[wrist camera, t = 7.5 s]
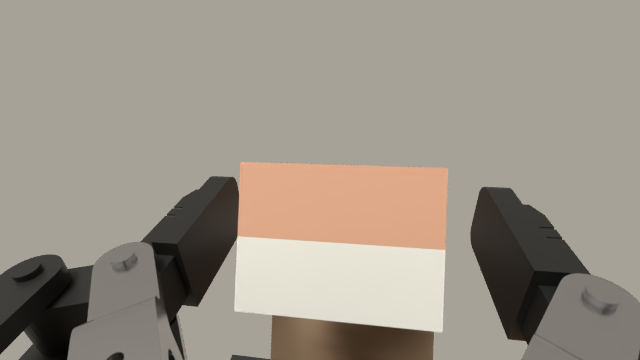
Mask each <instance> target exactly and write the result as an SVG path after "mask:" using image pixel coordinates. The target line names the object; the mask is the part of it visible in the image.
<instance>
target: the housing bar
mask: <svg viewBox="0 0 640 360" xmlns="http://www.w3.org/2000/svg"><path fill="white" fill-rule="evenodd" d="M240 166H241V167H240V188H239V212H238V236H237V260H236V285H235V309H234V310H235V311H239V312H248V313H258V314H268V315H278V316H287V317H297V318H307V319H317V320H326V321H336V322H346V323H355V324H365V325H375V326H385V327H394V328H404V329H414V330H424V331H433V332H442V331H443V330H442V329H443V302H444V274H445V272H444V271H445V245H446V244H445V243H446V216H447V187H448V168H427V167H426V168H425V167H394V166H393V167H392V166H359V165H327V164H294V163H292V164H291V163H261V162H241V165H240Z"/></svg>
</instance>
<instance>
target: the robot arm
mask: <svg viewBox="0 0 640 360" xmlns="http://www.w3.org/2000/svg"><path fill="white" fill-rule="evenodd" d="M238 212H239V191H238V186H237V182H236V180H235V178H233V177H218V176H212V177H210V178H209V179H208V180H207V181H206V182H205V184H204V185H203V186H202V187H201V188H200V189H199V190H195V191H193V192H191V193H190V194H188V195H186V196H185V197H183V198H182V199H181V200H180V201H179V202H178V203H177V204H176V206H174V209H172V210H171V211H170V212H169V213H168V214H167V216H165V217H164V218H163V219H162V220H161V221H160V222H159V223H158V224H157V225H156V226H155V227H154V228H153V230H151V232H150V233H149V234H148V235H147V236H146V237H145V238H144V239H143V240H142V241H141V242H132V243H127V244H123V245H121V246H118V247H116V248H113V249H112V250H110V251H108V252H107V253H105V254H104V255H103V256H101V257H100V258H99V259H98V260H97V261H96V263H95V264H94V265H91V266H86V267H79V268H73V269H67V267H66V265H65V263H64V262H63V260H62V259H61V257H59V256H57V255H42V256H37V257H34V258H30V259H28V260H25V261H23V262H21V263H19V264H17V265H15V266H13V267H12V268H10V269H8V270H7V271H5V272H4V273H3V274H1V275H0V354H1V353H2V352H3V351H4V350H5V349H6V348H7V347H8V346H9V345H10V344H11V343H12V342H13V341H14V340H15V339H16V338H17V337H18V336H19V335H20V334H21V333H22V332H23V331H24V332H25V333H26V335H27V336H28V337H29V339H30V340H31V341H32V343H33V345H32V346H31V347H30V348H29V349H28V350H27V351H26V352H25V353H24V354H23V356H22V357H21V358H20V359H19V360H187V355H186V350H185V346H184V340H183V335H182V329H181V325H180V319H179V316H178V314H177V313H178V311H179V309H180V308H181V306H182V305H187V306H196V307H198V305H199V303H200V302H201V300H202V298H203V296H204V295H205V293H206V291H207V289H208V287H209V286H210V284H211V282H212V281H213V279H214V277H215V275H216V274H217V272H218V270H219V268H220V267H221V265H222V263H223V261H224V260H225V258H226V256H227V254H228V253H229V251H230V249H231V247H232V246H233V244H234V242H235V240H236V238H237V236H238ZM471 245H472V248H473V251H474V253H475V256H476V258H477V261H478V263H479V266H480V268H481V271H482V274H483V276H484V279H485V281H486V284H487V286H488V289H489V291H490V294H491V297H492V299H493V302H494V305H495V307H496V310H497V312H498V315H499V317H500V319H501V322H502V325H503V328H504V330H505V333H506V335H507V338H508V339H512V340H521V341H526V342H527V344H528V347H527V350H526V351H525V353H524V355H523V357H522V359H521V360H640V303H639V302H638V300H637V299H636V298H634V297H633V296H632V295H631V294H630V293H629V292H627V291H626V290H625V289H623V288H621V287H620V286H618V285H616V284H614V283H612V282H610V281H608V280H606V279H603V278H600V277H597V276H593V275H591V274H590V273H589V272H588V270H587V269H586V268H585V267H584V266H583V264H582V263H581V261H580V260H579V259H578V258H577V256H576V255H575V254H574V252H573V251H572V250H571V249H570V247H569V246H568V245H567V243H566V242H565V241H564V240H562V237H561V236H560V234H559V233H558V232H557V231H556V230H554V227H553V225H552V224H551V223H550V222H549V220H548V219H547V218H546V216H545V215H543V214H542V213H540V212H539V211H537V210H536V209H534V208H533V207H532V206H530V205H523V204H522V203H521V201H520V200H519V199H518V197H517V196H516V194H515V193H514V192H513V190H512V189H510V188H498V187H483V188H482V189H481V190H480V192H479V196H478V200H477V205H476V209H475V213H474V218H473V222H472V226H471ZM231 360H272V359H263V358H254V357H247V356H238V355H232V358H231Z"/></svg>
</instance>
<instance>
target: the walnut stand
mask: <svg viewBox="0 0 640 360" xmlns="http://www.w3.org/2000/svg"><path fill="white" fill-rule="evenodd" d="M272 317H273V318H272V339H271V340H272V341H271V359H272V360H433V340H434V332H433V331H424V330H414V329H404V328H394V327H385V326H375V325H365V324H355V323H346V322H336V321H326V320H317V319H307V318H297V317H287V316H278V315H272Z"/></svg>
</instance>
